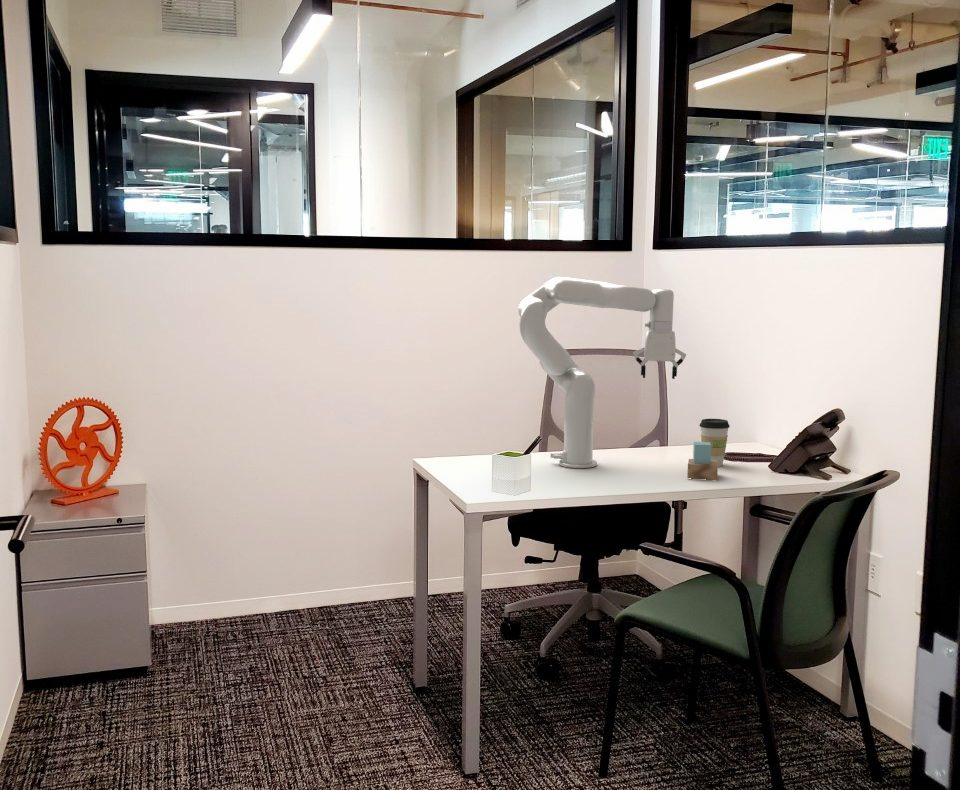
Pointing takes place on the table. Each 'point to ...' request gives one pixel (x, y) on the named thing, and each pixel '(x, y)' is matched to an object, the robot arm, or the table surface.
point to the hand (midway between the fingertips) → (658, 378)
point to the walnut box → (703, 470)
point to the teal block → (702, 453)
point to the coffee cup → (715, 437)
